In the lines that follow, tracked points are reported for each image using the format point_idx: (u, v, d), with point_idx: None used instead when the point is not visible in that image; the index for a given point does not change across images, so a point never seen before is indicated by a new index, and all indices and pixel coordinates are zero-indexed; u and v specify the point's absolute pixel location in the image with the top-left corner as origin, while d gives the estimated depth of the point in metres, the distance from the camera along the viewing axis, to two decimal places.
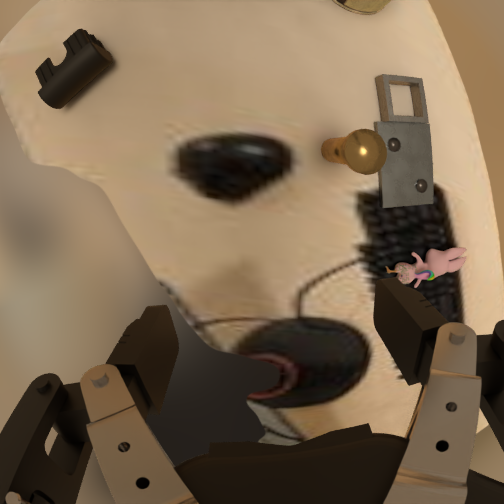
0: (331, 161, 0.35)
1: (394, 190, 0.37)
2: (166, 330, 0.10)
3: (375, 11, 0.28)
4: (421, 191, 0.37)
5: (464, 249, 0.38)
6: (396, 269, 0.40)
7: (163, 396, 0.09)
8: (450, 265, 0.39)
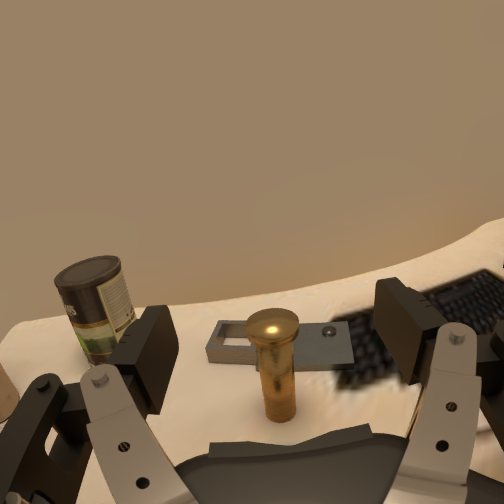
0: (293, 408, 0.26)
1: (333, 354, 0.34)
2: (166, 330, 0.10)
3: None
4: (334, 330, 0.38)
5: None
6: None
7: (163, 396, 0.09)
8: None
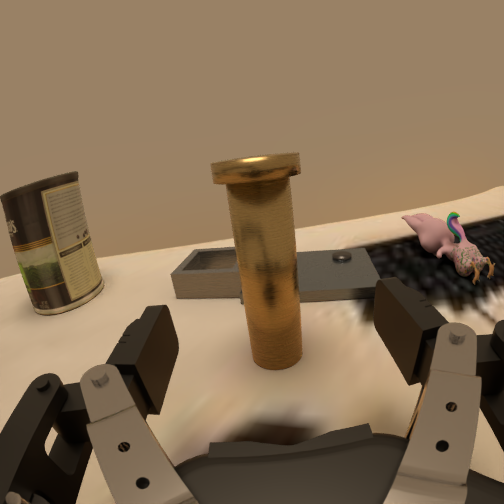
0: (297, 341, 0.17)
1: (352, 277, 0.24)
2: (166, 330, 0.10)
3: (100, 282, 0.31)
4: (349, 254, 0.28)
5: (403, 216, 0.33)
6: (469, 264, 0.21)
7: (163, 396, 0.09)
8: None
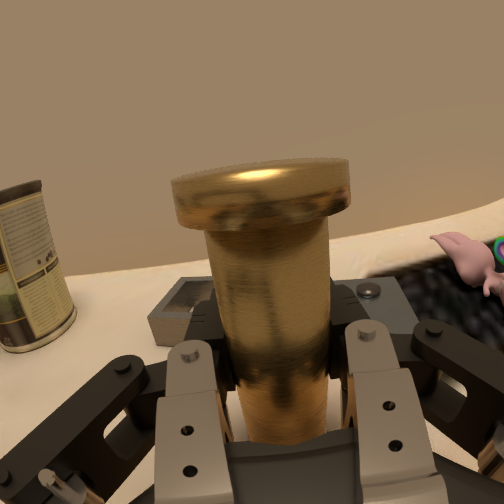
0: None
1: (386, 325, 0.17)
2: None
3: (70, 313, 0.24)
4: (378, 288, 0.21)
5: None
6: None
7: None
8: (464, 242, 0.23)
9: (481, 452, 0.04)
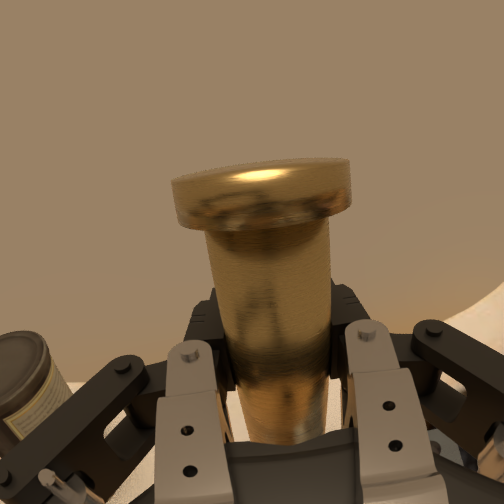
0: None
1: None
2: None
3: None
4: (439, 449, 0.16)
5: None
6: None
7: None
8: None
9: (481, 452, 0.04)
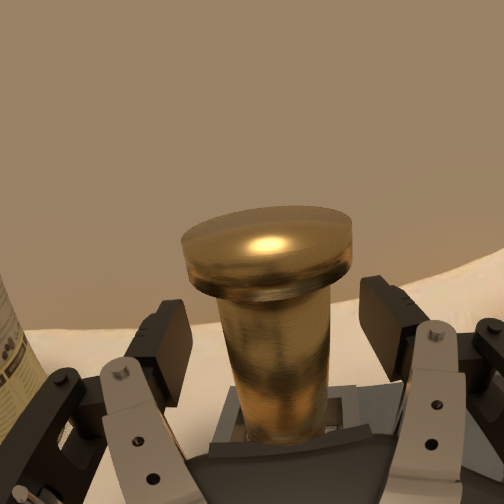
0: None
1: None
2: (181, 324, 0.10)
3: None
4: None
5: None
6: None
7: (180, 389, 0.09)
8: None
9: None
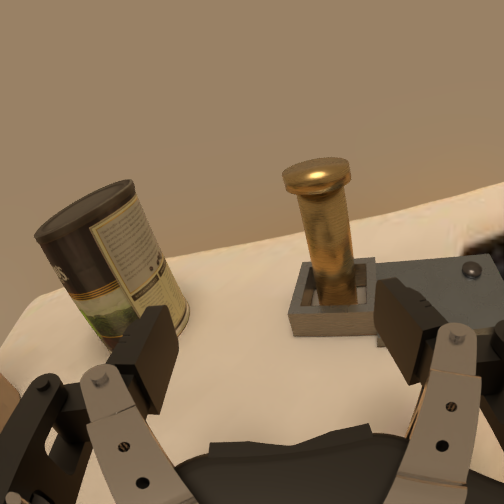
0: (353, 298, 0.22)
1: (491, 308, 0.16)
2: (166, 330, 0.10)
3: (185, 308, 0.28)
4: (480, 268, 0.20)
5: None
6: None
7: (163, 396, 0.09)
8: None
9: None
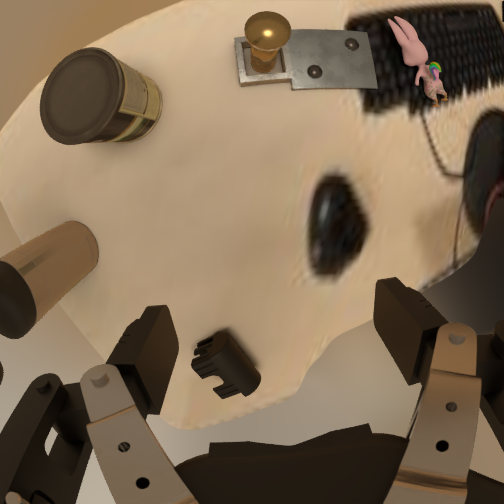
0: None
1: (360, 75, 0.32)
2: (166, 330, 0.10)
3: (155, 86, 0.33)
4: (357, 45, 0.30)
5: (391, 22, 0.27)
6: (434, 99, 0.32)
7: (163, 396, 0.09)
8: (412, 37, 0.28)
9: None
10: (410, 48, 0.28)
